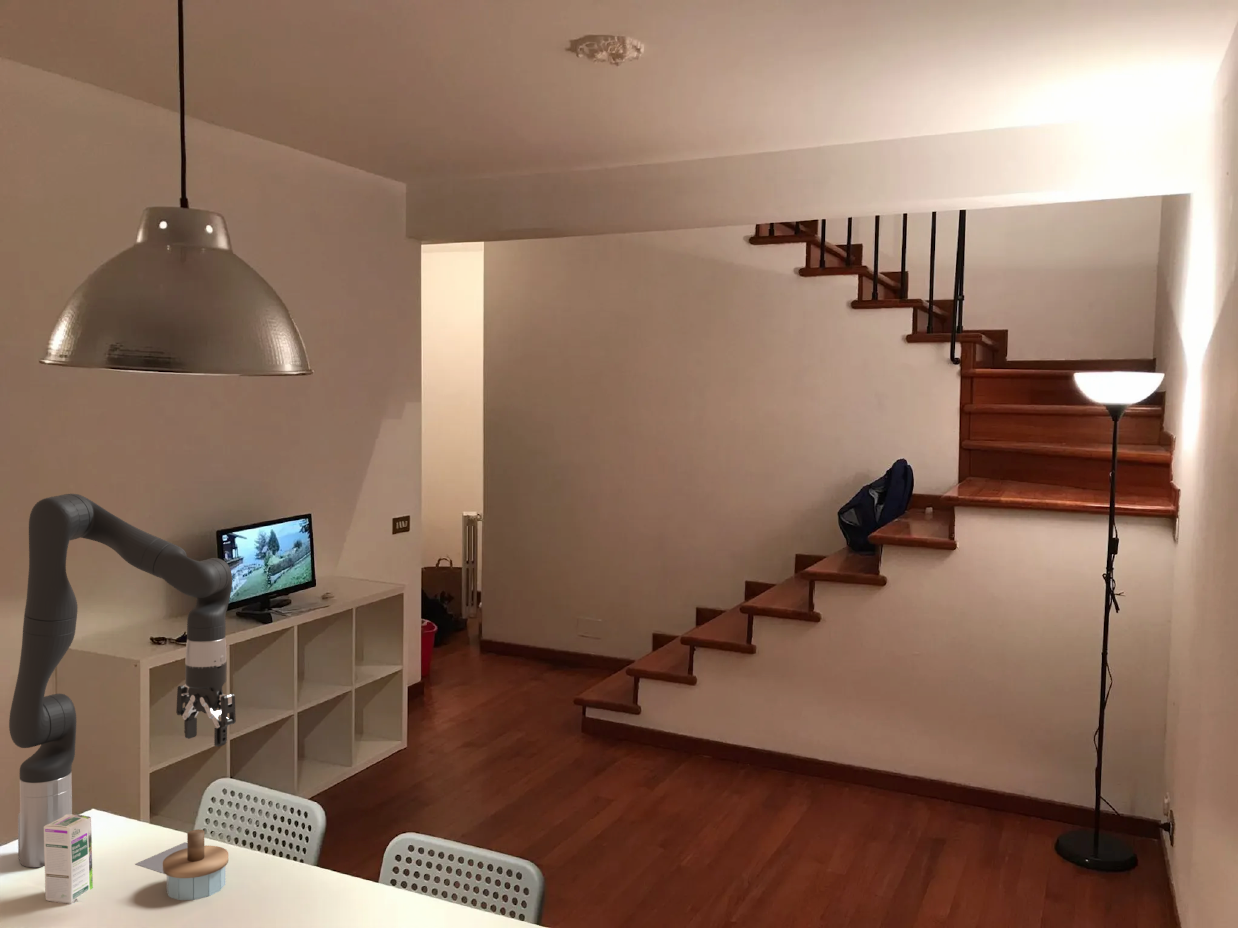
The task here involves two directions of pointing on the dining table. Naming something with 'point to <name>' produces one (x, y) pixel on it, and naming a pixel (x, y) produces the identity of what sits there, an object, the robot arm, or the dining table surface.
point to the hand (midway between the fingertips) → (205, 741)
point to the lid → (195, 858)
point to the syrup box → (68, 858)
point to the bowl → (195, 886)
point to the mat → (160, 858)
